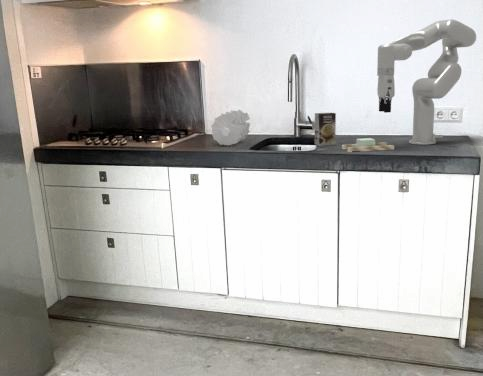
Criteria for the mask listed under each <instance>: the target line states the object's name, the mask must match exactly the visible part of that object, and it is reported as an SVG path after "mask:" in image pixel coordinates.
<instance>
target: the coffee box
mask: <svg viewBox="0 0 483 376" xmlns="http://www.w3.org/2000/svg"><path fill="white" fill-rule="evenodd" d="M336 115H337V113H336V112H319V113H314V145H316V146H318V147H323V146H334V145H336V133H337V132H336V129H337V128H336V127H337V126H336V124H337V123H336V122H337V121H336V120H337V119H336V117H337V116H336Z"/></svg>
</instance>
